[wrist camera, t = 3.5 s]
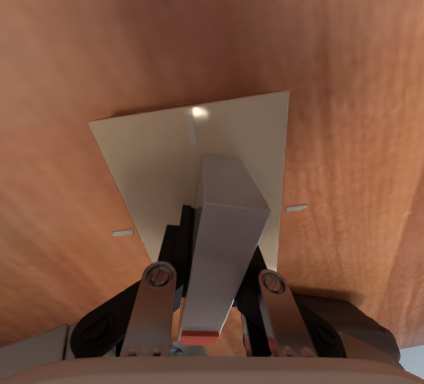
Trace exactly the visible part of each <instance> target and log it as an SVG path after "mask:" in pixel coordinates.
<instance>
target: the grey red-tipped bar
mask: <svg viewBox="0 0 424 384" xmlns="http://www.w3.org/2000/svg"><path fill="white" fill-rule="evenodd" d="M194 208H195V212H194V229H193V246H192V259H191V265H190V271H189V276H188V281H187V287H186V292H185V297H182V298H181V308H180V319H179V329H178V341H180V345H216V342H217V340H218V338H219V335H220V332H221V330H222V328H223V325H224V323H225V320H226V318H227V316H228V313H229V311H230V309H231V306H232V304H233V302H234V299H235V297H236V295H237V292H238V290H239V287H240V285H241V283H242V280H243V278H244V276H245V273H246V271H247V269H248V266H249V264H250V262H251V259H252V257H253V254H254V252H255V250H256V247H257V245H258V243H259V240H260V238H261V236H262V233H263V231H264V229H265V226H266V224H267V221H268V219H269V217H270V214H271V209H270V208H269V206H268V204H267V203H266V201H265V199H264V198H263V196H262V194H261V193H260V191H259V189H258V188H257V186H256V184H255V183H254V181H253V179H252V178H251V176H250V174H249V173H248V171H247V169H246V168H245V166H244V164H243V163H242V161H241V160H239V159H233V158H227V157H221V156H215V155H209V154H203V155H202V162H201V168H200V174H199V180H198V186H197V192H196V198H195V204H194Z"/></svg>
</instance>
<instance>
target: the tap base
mask: <svg viewBox="0 0 424 384" xmlns="http://www.w3.org/2000/svg"><path fill="white" fill-rule="evenodd" d="M289 94H290V92H289V91H288V90H286V91H267V92H260V93H254V94H248V95H241V96H235V97H228V98H222V99H215V100H209V101H203V102H196V103H190V104H183V105H177V106H171V107H164V108H158V109H151V110H145V111H139V112H132V113H126V114H119V115H113V116H109V117H105V118H101V119H97V120H93V121H89V122H88V124H89V126H90V129H91V131H92V133H93V135H94V137H95V139H96V142H97V144H98V146H99V148H100V150H101V153H102V155H103V157H104V159H105V161H106V163H107V166H108V168H109V170H110V172H111V174H112V177H113V179H114V181H115V183H116V185H117V187H118V190H119V192H120V194H121V196H122V198H123V201H124V203H125V205H126V207H127V209H128V212H129V214H130V216H131V218H132V220H133V222H134V225H135V227H136V229H137V231H138V233H139V236H140V238H141V240H142V242H143V244H144V246H145V249H146V251H147V253H148V255H149V257H150V260H151V262H152V263H154V262H157V260H158V256H159V253H160V249H161V245H162V241H163V237H164V234H165V230H166V226H167V224H169V225H178V226H179V225H180V219H181V213H182V207H183V205H190V206H191V208H194V204H195V198H196V192H197V186H198V180H199V174H200V168H201V162H202V155H203V154H209V155H215V156H221V157H227V158H233V159H239V160H241V161H242V163H243V164H244V166H245V168H246V169H247V171H248V173H249V174H250V176H251V178H252V179H253V181H254V183H255V184H256V186H257V188H258V189H259V191H260V193H261V194H262V196H263V198H264V199H265V201H266V203H267V204H268V206H269V208H270V209H271V214H270V217H269V219H268V221H267V224H266V226H265V229H264V231H263V233H262V236H261V238H260V240H259V243H258V245H259V248H260V250H261V253H262V256H263V258H264V261H265V264H266V266H267V269H270V270H274V271H276V272H277V260H278V246H279V232H280V219H281V205H282V191H283V177H284V163H285V149H286V136H287V122H288V108H289ZM306 208H307V204H301V205H294V206H287V207H285V212H291V211H298V210H305V209H306ZM128 234H134V231H133V229H125V230H118V231H112V235H113V236H121V235H128Z"/></svg>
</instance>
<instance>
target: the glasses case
mask: <svg viewBox="0 0 424 384" xmlns="http://www.w3.org/2000/svg"><path fill="white" fill-rule="evenodd" d="M292 295H293V296H294V297H295V298H297V299H298V300H299V301H301V302H302V303H303V304H305V305H306V306H307V307H308V308H310V309H311V310H312V311H314V312H315V313H316V314H318V315H319V316H320V317H321V318H323V319H324V320H325V321H327V322H328V323H329V324H330V325H331V326H332V327H333V328H334V329H335V330H336V332H337V333H339V332H340V331H341V332H343V333H345V334H347V335H349V336H351V337H353V338H356V339H358V340H360V341H362V342H364V343H366V344H368V345H370V346H373V347H375V348H377V349H379V350H381V351H383V352H385V353H387V354H389V355H390V356H392V357H393V358H394V359H395V360H396V361H397V362H399V360H400V351H399V348H398V346H397V343H396V340H395V337H394V336H393V334H392V333H391V332H390V331H389V330H387V329H386V328H384V327H382V326H381V325H379V324H378V323H377V322H376V321H375V320H373V319H372V318H370V317H368V316H366V315H365V314H364V313H363V312H362V311H361V310H359V309H358V308H357V307H355V306H354V305H353V304H351V303H349V302H346V301H341V300H333V299H326V298H318V297H312V296H303V295H297V294H292ZM243 343H244V347H245V340H244V333H243ZM245 349H246V347H245Z"/></svg>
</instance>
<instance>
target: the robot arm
mask: <svg viewBox="0 0 424 384" xmlns="http://www.w3.org/2000/svg"><path fill="white" fill-rule="evenodd" d="M194 212H195V208H191V206H190V205H183V207H182V213H181V219H180V225H179V226H178V225H169V224H167V226H166V230H165V234H164V237H163V241H162V245H161V249H160V253H159V256H158V260H157V262H154V263H152V264H150V265H149V266H148V267H147V268H146V269H145V270H144V273H143V275H142V278H141V280H139V281H138V282H136V283H135V284H133V285H132V286H130V287H129V288H127V289H125V290H124V291H122V292H121V293H119V294H118V295H116V296H115V297H113V298H111V299H110V300H108V301H107V302H105V303H104V304H102V305H101V306H99V307H97V308H96V309H94V310H93V311H91V312H90V313H88V314H87V315H86V316H84V317H83V318H82V319H81V320H80V321H79V322H78V323H75V324H72V325H68V323H67V324H64V325H62V326H59V327H56V328H53V329H50V330H47V331H44V332H42V333H39V334H36V335H33V336H30V337H27V338H24V339H22V340H19V341H16V342H13V343H10V344H7V345H4V346H2V347H0V384H424V380H423V379H421V378H420V377H418V376H416V375H414V374H411V373H410V372H407V371H405V369H404V368H403V367H402V366H401V364H400V363H399V362H397V361H396V360H395V359H394V358H393V357H392V356H390V355H389V354H387V353H385V352H383V351H381V350H379V349H377V348H375V347H373V346H370V345H368V344H366V343H364V342H362V341H360V340H358V339H356V338H353V337H351V336H349V335H347V334H345V333H343V332H341V331H340V332H339V333H337V332H336V330H335V329H334V328H333V327H332V326H331V325H330V324H329V323H328V322H327V321H325V320H324V319H323V318H321V317H320V316H319V315H318V314H316V313H315V312H314V311H312V310H311V309H310V308H308V307H307V306H306V305H305V304H303V303H302V302H301V301H299V300H298V299H297V298H295V297H294V296H293V295H292V293H291V290H290V288H289V286H288V283H287V282H286V280H285V279H284V277H283V276H282V275H280V274H279V273H278V272H276V271H274V270H270V269H267V266H266V264H265V261H264V258H263V256H262V253H261V250H260V248H259V245H257V247H256V250H255V252H254V254H253V257H252V259H251V262H250V264H249V266H248V269H247V271H246V273H245V276H244V278H243V280H242V283H241V285H240V287H239V290H238V292H237V295H236V297H235V299H234V302H233V304H232V307H237V308H238V310H239V311H240V312H241V319H242V326H243V333H244V340H245V347H246V353H247V357H215V356H205V357H204V356H203V357H202V356H169V352H170V341H171V331H172V321H173V313H174V312H175V311H176V310H177V309H178V308H179V307H180V303H181V297H185V292H186V287H187V281H188V276H189V271H190V265H191V259H192V246H193V229H194Z"/></svg>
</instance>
